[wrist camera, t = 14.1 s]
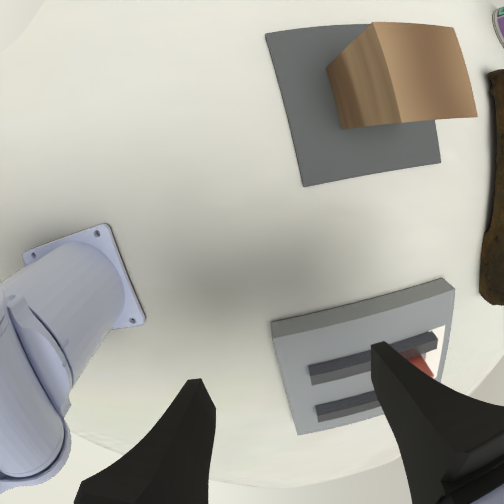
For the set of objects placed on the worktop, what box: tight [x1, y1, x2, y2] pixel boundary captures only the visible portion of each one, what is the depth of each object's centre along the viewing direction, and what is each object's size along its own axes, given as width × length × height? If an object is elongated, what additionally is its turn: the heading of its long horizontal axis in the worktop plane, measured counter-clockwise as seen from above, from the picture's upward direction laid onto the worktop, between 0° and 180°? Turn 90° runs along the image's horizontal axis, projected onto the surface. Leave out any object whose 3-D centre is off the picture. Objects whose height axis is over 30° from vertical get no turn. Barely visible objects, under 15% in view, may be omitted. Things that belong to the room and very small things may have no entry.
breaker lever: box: [407, 355, 434, 378], centre depth 19 cm, size 2×3×3 cm
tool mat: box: [265, 24, 441, 187], centre depth 16 cm, size 10×10×1 cm
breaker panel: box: [271, 278, 455, 435], centre depth 21 cm, size 14×12×3 cm
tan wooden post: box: [326, 22, 478, 130], centre depth 12 cm, size 4×4×8 cm
